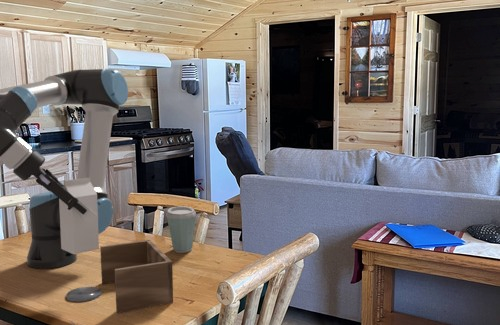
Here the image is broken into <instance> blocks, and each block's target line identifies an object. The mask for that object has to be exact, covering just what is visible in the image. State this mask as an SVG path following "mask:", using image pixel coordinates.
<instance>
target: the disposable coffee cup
mask: <svg viewBox="0 0 500 325" xmlns="http://www.w3.org/2000/svg"><path fill="white" fill-rule="evenodd" d="M165 217H166V219H167V224H168V229H169V230H168V231H169V233H170V234H169V236H170V239H171V244H172V249H173V252H175V253H178V254H181V253H182V254H183V253H189V252H190V251H192V248H193V246H194V245H193V243H194V235H195V226H196V217H197V212H196V211H195V209H194V207H190V206H185V205H181V206H172V207H169V209H167V210H166V212H165Z"/></svg>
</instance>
